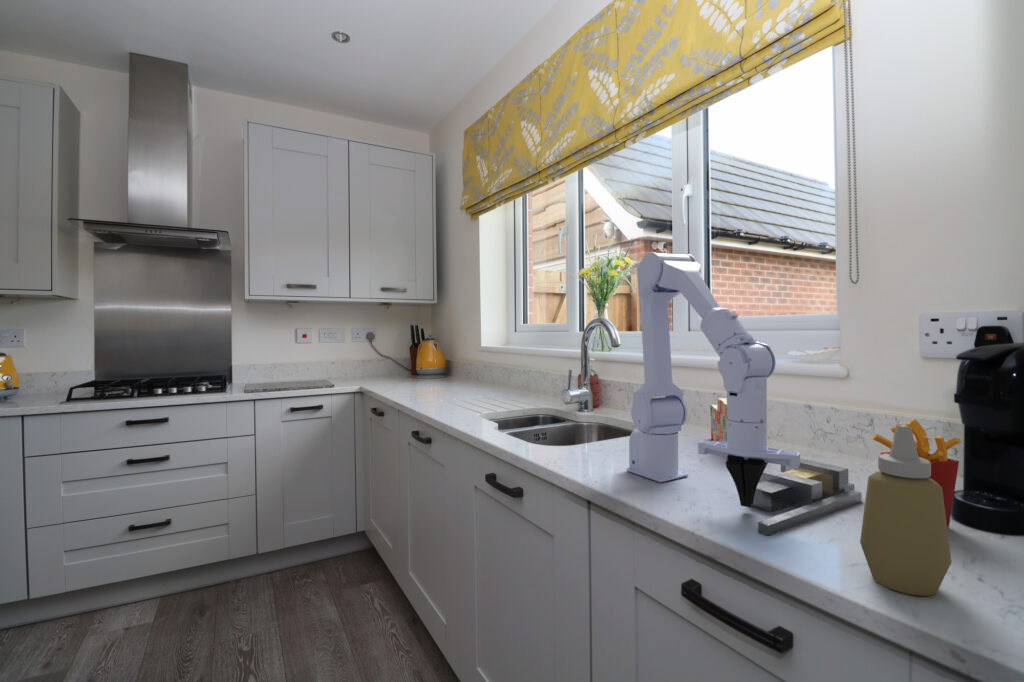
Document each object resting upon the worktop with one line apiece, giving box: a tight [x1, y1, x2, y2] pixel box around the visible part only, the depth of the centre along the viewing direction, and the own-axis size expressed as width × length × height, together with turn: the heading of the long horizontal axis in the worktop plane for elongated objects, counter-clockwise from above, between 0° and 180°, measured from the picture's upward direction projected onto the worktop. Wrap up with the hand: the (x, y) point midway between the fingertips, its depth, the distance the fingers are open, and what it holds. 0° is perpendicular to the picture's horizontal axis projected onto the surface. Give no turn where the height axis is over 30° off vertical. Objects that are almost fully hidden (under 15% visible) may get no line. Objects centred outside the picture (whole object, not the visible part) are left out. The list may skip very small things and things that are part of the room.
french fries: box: [872, 418, 962, 528], centre depth 73 cm, size 9×8×15 cm
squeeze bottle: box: [859, 425, 952, 597], centre depth 55 cm, size 8×8×18 cm
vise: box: [757, 457, 863, 537], centre depth 80 cm, size 12×28×5 cm, turn 120°
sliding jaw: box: [752, 467, 823, 512], centre depth 81 cm, size 10×9×4 cm
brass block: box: [784, 469, 820, 481], centre depth 84 cm, size 4×5×4 cm
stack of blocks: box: [709, 397, 727, 442], centre depth 117 cm, size 21×6×12 cm, turn 168°
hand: (746, 504), depth 77 cm, fingers closed
